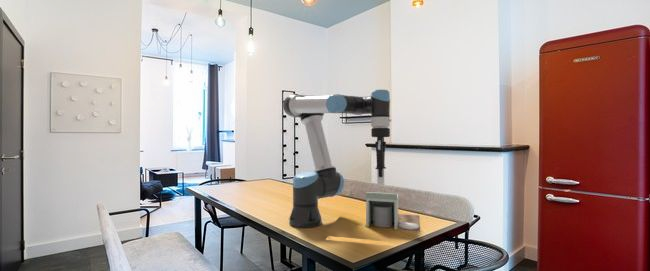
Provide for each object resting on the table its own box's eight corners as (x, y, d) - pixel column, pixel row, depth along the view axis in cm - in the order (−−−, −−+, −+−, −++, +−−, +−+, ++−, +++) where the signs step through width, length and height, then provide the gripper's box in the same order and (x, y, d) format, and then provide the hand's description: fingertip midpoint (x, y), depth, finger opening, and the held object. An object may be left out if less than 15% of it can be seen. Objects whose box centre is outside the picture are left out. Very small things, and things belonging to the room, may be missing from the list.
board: (365, 230, 139) (365, 226, 139) (372, 215, 164) (372, 212, 164) (420, 234, 133) (420, 231, 133) (419, 218, 158) (419, 215, 158)
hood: (366, 226, 139) (366, 192, 139) (370, 219, 151) (370, 187, 150) (396, 229, 135) (396, 194, 135) (398, 221, 147) (398, 189, 147)
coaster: (398, 228, 137) (398, 227, 137) (399, 222, 145) (399, 221, 145) (419, 230, 135) (419, 229, 135) (419, 224, 143) (419, 223, 143)
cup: (392, 231, 138) (392, 208, 138) (372, 229, 140) (372, 207, 140) (392, 225, 146) (392, 203, 146) (373, 224, 148) (373, 202, 148)
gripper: (388, 127, 124) (388, 187, 125) (390, 127, 137) (391, 182, 137) (369, 127, 126) (369, 186, 127) (373, 127, 139) (373, 182, 139)
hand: (380, 184), depth 132 cm, fingers closed
